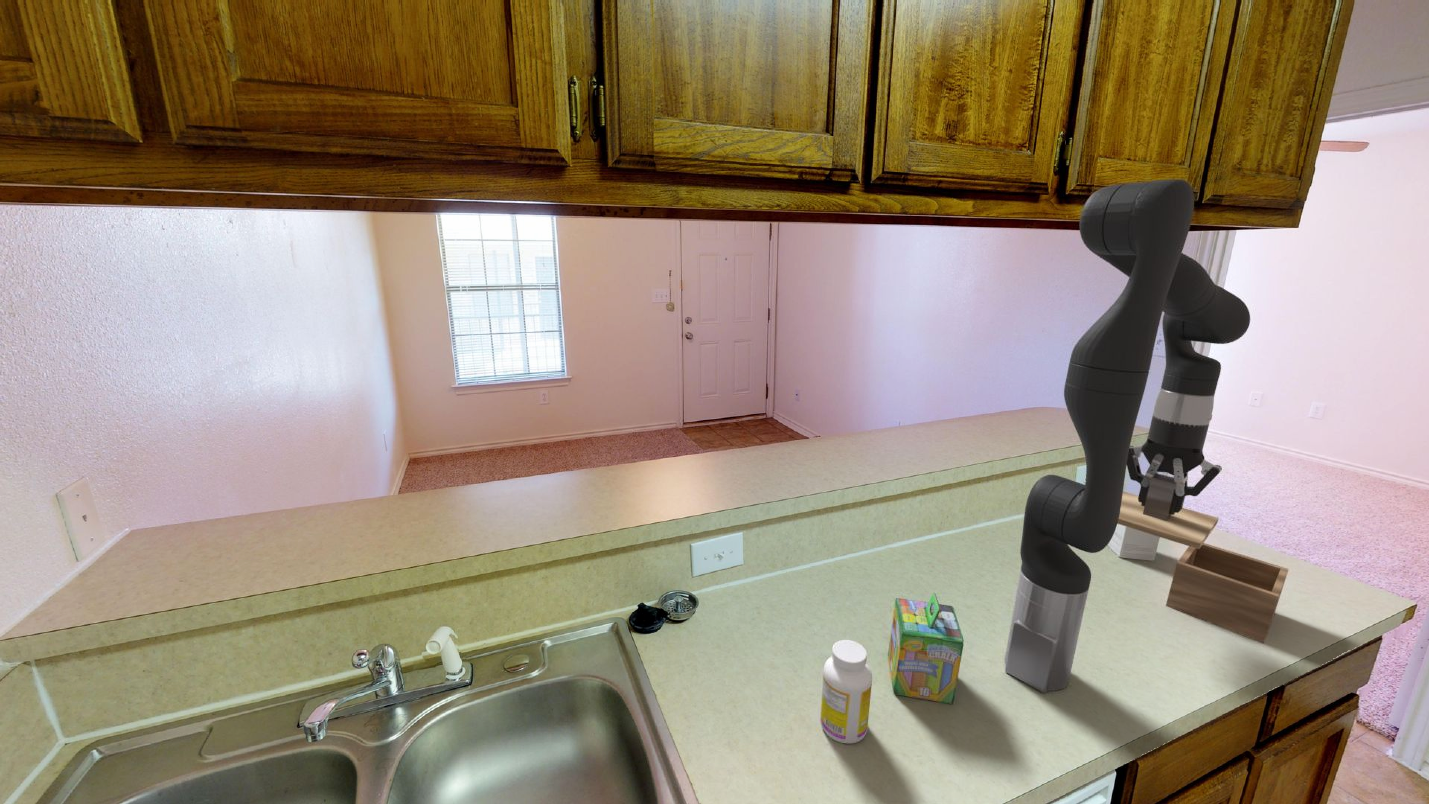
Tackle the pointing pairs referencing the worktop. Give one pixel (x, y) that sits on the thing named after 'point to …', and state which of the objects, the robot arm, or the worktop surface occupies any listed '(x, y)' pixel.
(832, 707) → the supplement bottle
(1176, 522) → the lid
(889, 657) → the chalk box
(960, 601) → the worktop surface
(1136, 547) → the supplement box
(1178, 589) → the box
